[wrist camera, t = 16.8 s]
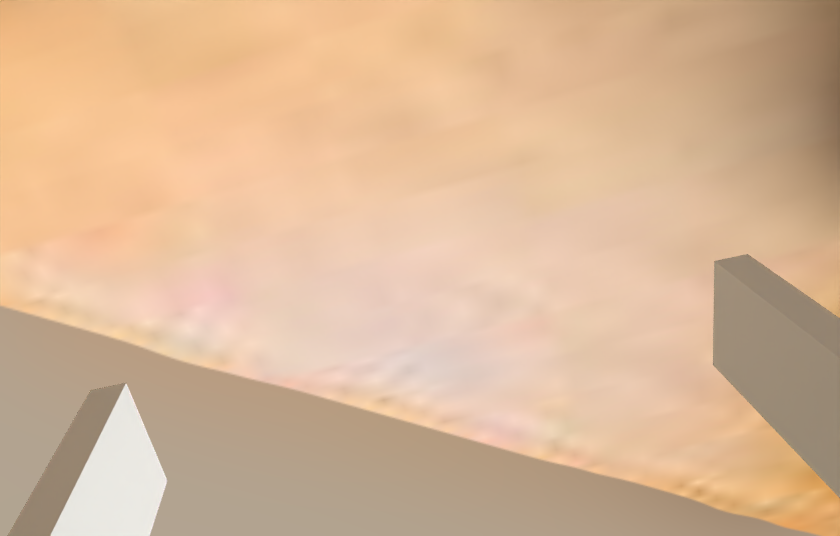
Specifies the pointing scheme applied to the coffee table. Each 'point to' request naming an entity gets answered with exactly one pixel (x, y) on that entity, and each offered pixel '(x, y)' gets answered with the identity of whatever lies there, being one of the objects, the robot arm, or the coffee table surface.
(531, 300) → the coffee table surface
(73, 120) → the coffee table surface
